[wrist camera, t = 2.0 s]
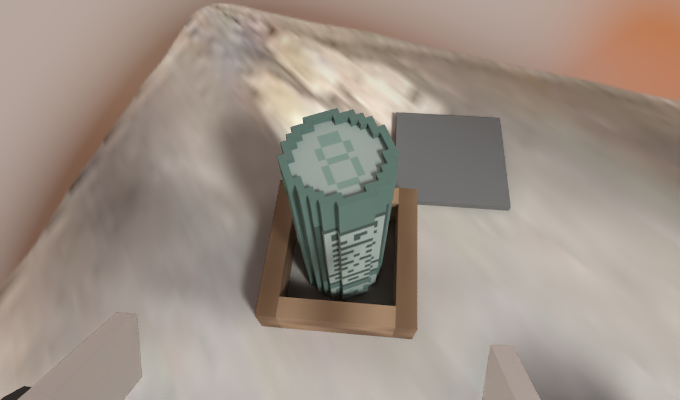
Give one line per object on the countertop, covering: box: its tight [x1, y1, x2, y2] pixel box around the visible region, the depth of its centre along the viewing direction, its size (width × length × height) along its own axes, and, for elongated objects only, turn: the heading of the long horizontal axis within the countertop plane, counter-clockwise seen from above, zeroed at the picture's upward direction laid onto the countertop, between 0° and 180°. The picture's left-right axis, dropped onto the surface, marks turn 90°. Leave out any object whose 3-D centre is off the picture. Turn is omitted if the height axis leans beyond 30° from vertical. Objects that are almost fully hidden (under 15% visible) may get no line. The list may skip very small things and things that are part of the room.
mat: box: [395, 113, 511, 210], centre depth 40 cm, size 10×10×1 cm
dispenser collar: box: [255, 180, 417, 339], centre depth 34 cm, size 11×11×3 cm
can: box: [277, 108, 399, 300], centre depth 29 cm, size 6×6×15 cm
